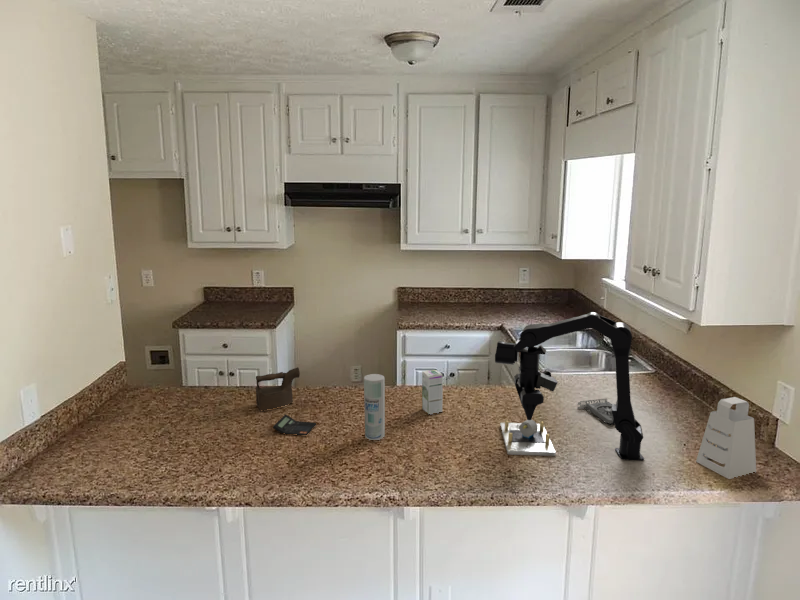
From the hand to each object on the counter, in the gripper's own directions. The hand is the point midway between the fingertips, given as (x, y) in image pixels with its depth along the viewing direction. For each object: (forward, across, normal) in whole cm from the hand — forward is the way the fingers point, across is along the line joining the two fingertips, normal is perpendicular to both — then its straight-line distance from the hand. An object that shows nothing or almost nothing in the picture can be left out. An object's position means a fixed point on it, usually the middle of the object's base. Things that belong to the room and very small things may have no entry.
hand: (526, 413), depth 167 cm
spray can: (+9, -1, +48) cm, 49 cm away
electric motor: (+8, -1, 0) cm, 8 cm away
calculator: (+10, +3, +75) cm, 75 cm away
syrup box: (+9, +21, +30) cm, 38 cm away
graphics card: (+9, +21, -30) cm, 38 cm away
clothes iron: (+9, +22, +87) cm, 90 cm away
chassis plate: (+9, 0, 0) cm, 9 cm away
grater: (+9, -13, -54) cm, 56 cm away
